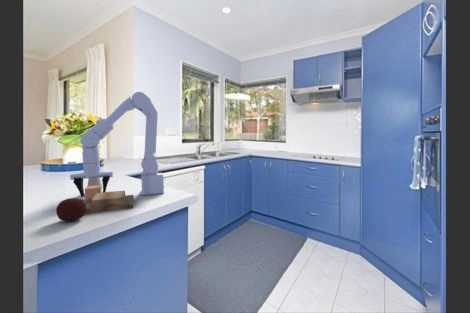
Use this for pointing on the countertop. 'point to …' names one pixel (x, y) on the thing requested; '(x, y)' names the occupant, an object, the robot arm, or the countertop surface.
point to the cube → (92, 191)
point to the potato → (71, 209)
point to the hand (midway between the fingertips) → (93, 195)
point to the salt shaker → (94, 182)
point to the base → (110, 208)
